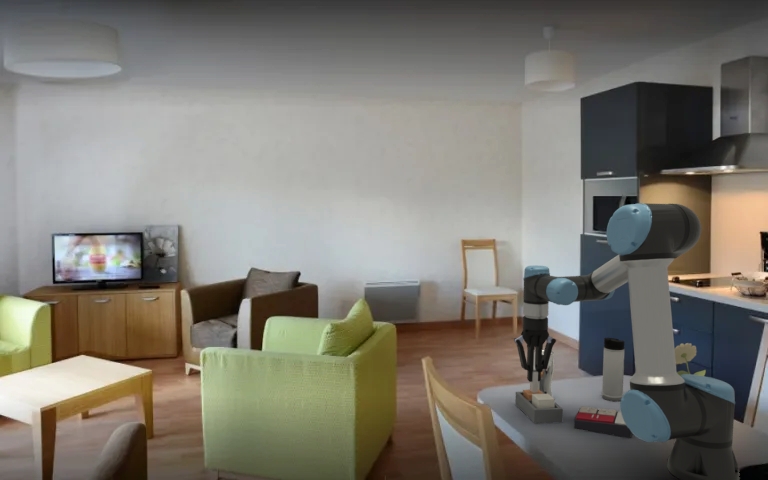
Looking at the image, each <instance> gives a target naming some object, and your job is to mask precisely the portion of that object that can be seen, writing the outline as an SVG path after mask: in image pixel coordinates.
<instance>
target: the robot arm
mask: <svg viewBox="0 0 768 480" xmlns="http://www.w3.org/2000/svg"><path fill="white" fill-rule="evenodd" d="M701 234H702V224H701V221H700V219H699V217H698V215H697V214H696V213H695V212H694V211H693V210H692V209H691V208H689V207H688V206H685V205H683V204H680V203H647V202H646V203H643V202H640V203H635V204H634V203H631V204H624V205H623V206H620V207H619V208H618V209H616V210H615V211H614V212H613V214H612V216H611V217H610V218H609V220H608V223H607V227H606V240H607V245H608V246H609V247H610V250H611V251H612V252H613V253H615V254H617V255H616V256H615V257H613V258H612V259H610V260H609V261H607V262H605V263H603V265H601V266H600V267H598V268H596V269H595V270H594V271H592V272H590V273H589V274H587V275H585V274H584V275H569V276H554V275H551V273H550V268H549V266H545V265H527V266H526V267H525V268H524V270H523V272H524V274H523V278H522V279H523V294H522V295H523V296H522V297H523V298H522V299H523V303H522V305H523V306H522V307H523V308H522V314H523V315H524V316H523V317H522V330H521V331H522V332H521V333H520V336H518V337H514V338H513V341H514V343H515V345H516V347H517V352H518V357H519V362H520V366H521V368H522V369H523V370H525V371H527V373H526V374H527V377H526V380H527V381H528V382H529V390H530V391H531V392H532V393H538V381H540V380H541V372H542V370H543V369H547V366H548V363H549V359H550V355H551V351H552V350H553V347H554V345H555V344H556V342H557V339H556V338H555V337H553V336H550V334H549V331H548V329H549V318H548V316H549V303H553V304H555V305H558V306H560V305H561V306H569V305H571V304H573V303H576V302H590V301H603V300H609V299H611V298H612V297H613V296H614V293H615V291H616V289H618V288H620V287H621V286H623V285H625V284H626V283H628V293H629V294H628V295H629V304H630V317H631V318H630V319H631V329H632V330H631V331H632V342H633V355H634V365H635V372H634V374H633V375H631V377H630V378H629V390H628V391H626V392H624V393H623V397H622V398H621V401H619V403H620V404H619V405H620V407H619V408H620V411H621V414H622V417H623V420H624V422H625V424H626V425H627V427H628V428H629V429H630V430H631V432H632V435H634V436H635V437H636V438H637V439H639V440H640V441H643V442H646V443H656V442H657V443H658V442H659V443H663V442H667V441H671V440H675V441H674V444H673V445H672V447H671V451H670V453H669V455H668V457H667V470H668V472H669V473H670V474H671V475H673V476H674V477H675V478H677V479H678V480H740V477H739V476H740V475H741V474H740V473H739V472H740V468H739V465H738V463H737V459H736V456H735V452H734V449H733V439H734V438H733V437H734V421H735V420H734V419H735V405H736V401H735V389H734V387H733V386H732V385H731V384H729V383H728V382H725V381H723V380H720V379H717V378H714V377H710V376H705V375H704V376H700V375H694V373H693V374H692V373H690V374H683V375H681V376H680V375H678V374H677V372H678V371H677V364H676V361H675V341H674V340H675V339H674V329H673V327H674V326H673V316H672V315H673V314H672V307H671V295H670V294H671V293H670V285H669V283H670V282H669V272H668V268H669V266H670V265H671V264H672V263H673V262H674V260H675V259H677V258H679V257H680V256H682V255H684V254H686V253H687V252H688V251H689V252H690V250H691V249H693V248H694V247H695V246H696V245H697V243H698V242H699V240H700V237H701ZM524 342H525V344H526V349H527V352H526V354H525V348H524V345H523V344H524ZM545 342H546V343H545ZM544 344H545V346H544ZM543 347H544V349H543ZM534 350H535V369H534V370H533V368H534ZM542 350H544V354H543V357H542Z"/></svg>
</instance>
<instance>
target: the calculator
mask: <svg viewBox="0 0 768 480" xmlns="http://www.w3.org/2000/svg"><path fill="white" fill-rule="evenodd" d="M573 429H574V430H579V431H584V432H585V431H586V432H591V433H596V434H597V433H598V434H606V435H613V436H615V437H620V438H625V439H632V435H633V433H632V432H631V430H630V429H629V428H628V427H627V425H626V424H625V422H624V420H623V417H622V414H621V410H619V411H617V409H610V408H609V409H607V408H599V409H598V408H597V407H590V406H580V407H579V408H578V411H577V413H576V415H575V417H574V419H573Z"/></svg>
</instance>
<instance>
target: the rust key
mask: <svg viewBox="0 0 768 480" xmlns="http://www.w3.org/2000/svg"><path fill="white" fill-rule="evenodd" d="M522 392H523V396H524V397H525V398H526V399H527V400H532V394H543V393H542V392H541V391H540V390H539V389H538V393H532V392H531V391H530V389H522Z"/></svg>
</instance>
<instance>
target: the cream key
mask: <svg viewBox="0 0 768 480" xmlns="http://www.w3.org/2000/svg"><path fill="white" fill-rule="evenodd" d="M555 403H556V402H555V397H553V395H552V396H550V395H549V394H532V405H533V406H534V407H535V408H536V409H543V408H555Z"/></svg>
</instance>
